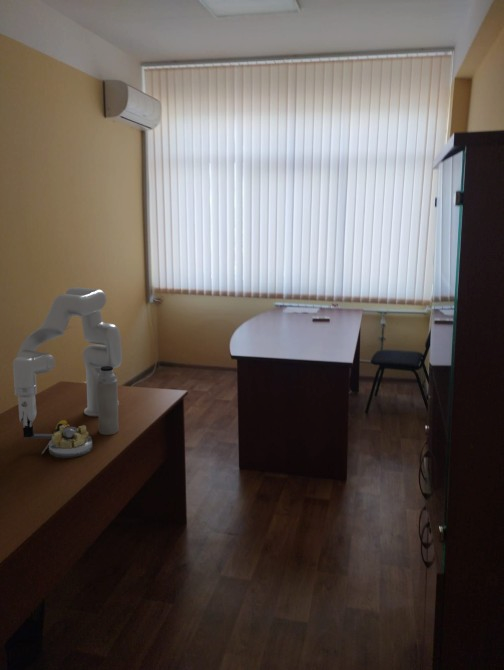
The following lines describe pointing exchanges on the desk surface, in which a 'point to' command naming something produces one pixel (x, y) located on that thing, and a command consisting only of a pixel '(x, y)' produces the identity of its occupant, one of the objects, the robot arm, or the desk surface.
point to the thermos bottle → (107, 401)
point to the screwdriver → (62, 422)
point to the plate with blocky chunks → (70, 452)
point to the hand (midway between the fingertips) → (28, 436)
